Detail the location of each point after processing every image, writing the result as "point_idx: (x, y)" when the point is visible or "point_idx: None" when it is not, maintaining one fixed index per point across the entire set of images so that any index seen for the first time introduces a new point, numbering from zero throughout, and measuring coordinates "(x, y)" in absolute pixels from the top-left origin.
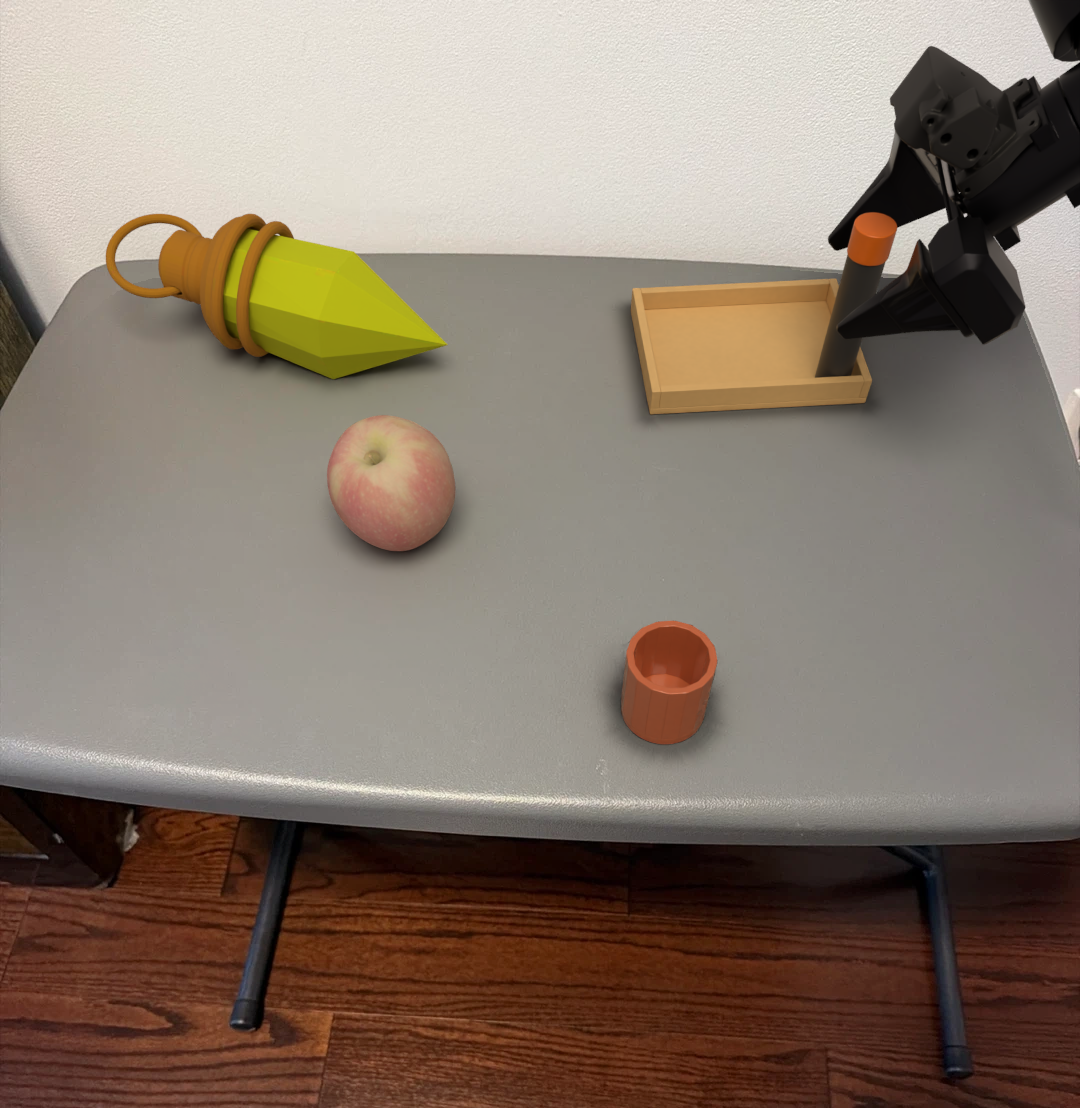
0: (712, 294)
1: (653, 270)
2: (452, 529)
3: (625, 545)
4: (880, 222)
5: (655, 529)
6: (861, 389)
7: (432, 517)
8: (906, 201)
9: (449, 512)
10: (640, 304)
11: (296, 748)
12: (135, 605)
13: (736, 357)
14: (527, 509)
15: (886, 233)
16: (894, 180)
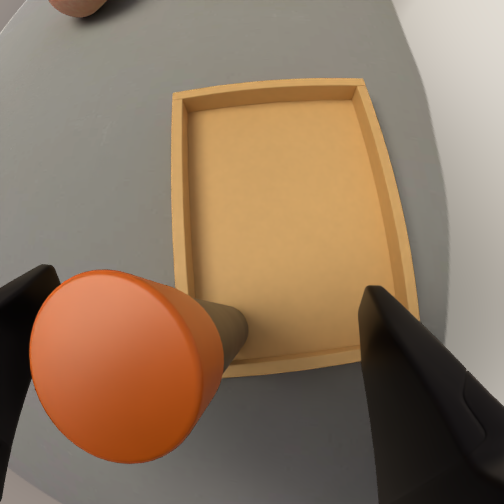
0: (379, 168)
1: (429, 129)
2: (90, 25)
3: (41, 117)
4: (113, 397)
5: (47, 135)
6: None
7: (50, 2)
8: (406, 498)
9: (63, 9)
10: (334, 82)
11: (7, 31)
12: None
13: (271, 200)
14: (91, 52)
15: (46, 396)
16: (458, 478)
